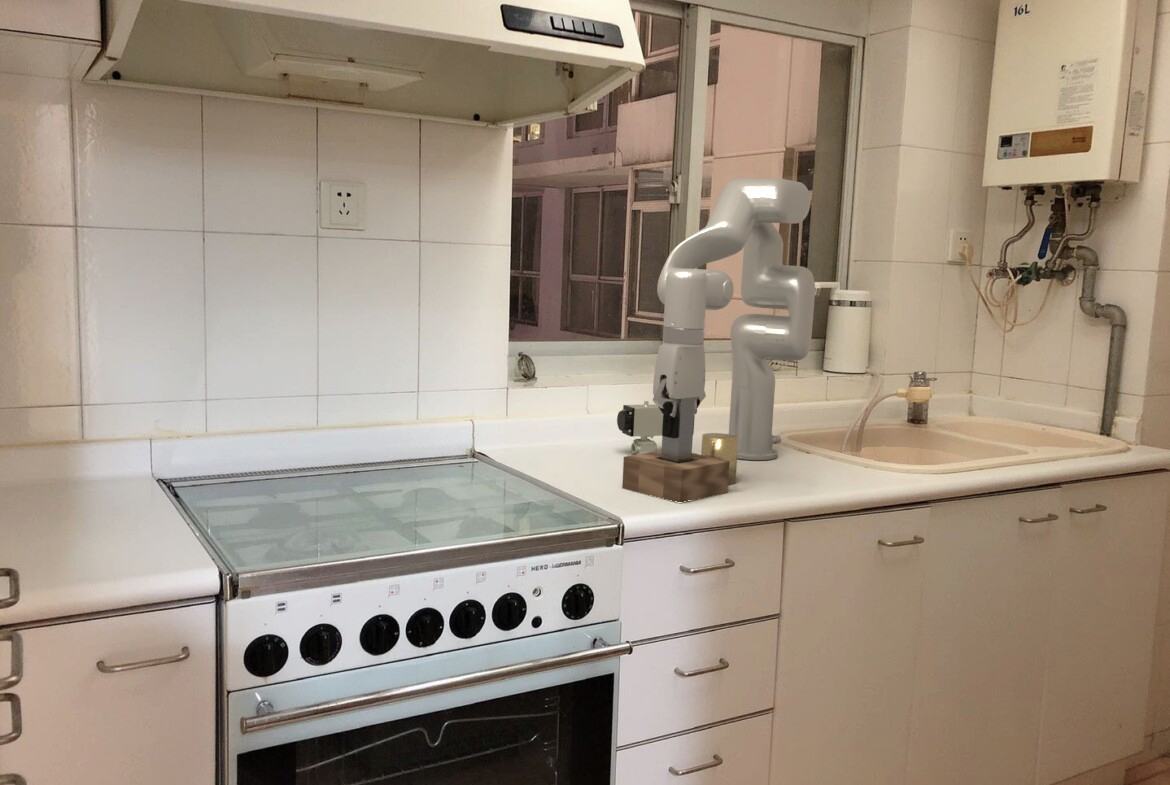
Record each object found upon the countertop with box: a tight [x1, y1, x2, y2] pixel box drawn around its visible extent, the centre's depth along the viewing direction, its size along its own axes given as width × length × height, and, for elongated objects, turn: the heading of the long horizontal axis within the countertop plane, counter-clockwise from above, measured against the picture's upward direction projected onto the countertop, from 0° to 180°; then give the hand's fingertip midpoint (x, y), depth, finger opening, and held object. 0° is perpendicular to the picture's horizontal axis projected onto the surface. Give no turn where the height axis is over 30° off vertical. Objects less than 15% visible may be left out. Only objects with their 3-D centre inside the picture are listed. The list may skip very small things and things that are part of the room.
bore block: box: [621, 449, 730, 503], centre depth 184 cm, size 14×14×6 cm
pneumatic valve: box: [616, 400, 663, 455], centre depth 215 cm, size 6×12×12 cm, turn 112°
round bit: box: [700, 432, 738, 486], centre depth 192 cm, size 7×7×9 cm
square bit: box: [660, 397, 695, 463], centre depth 182 cm, size 4×4×12 cm
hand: (677, 435), depth 182 cm, fingers closed on square bit, 4 cm apart
